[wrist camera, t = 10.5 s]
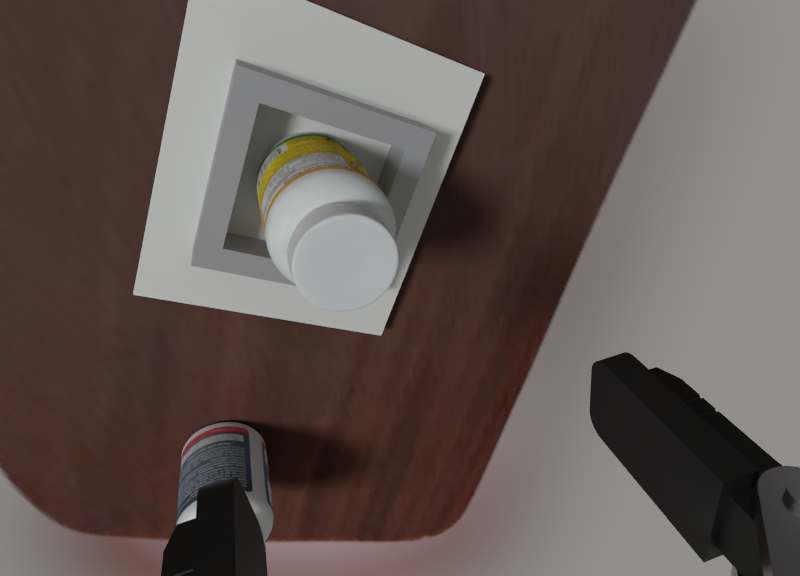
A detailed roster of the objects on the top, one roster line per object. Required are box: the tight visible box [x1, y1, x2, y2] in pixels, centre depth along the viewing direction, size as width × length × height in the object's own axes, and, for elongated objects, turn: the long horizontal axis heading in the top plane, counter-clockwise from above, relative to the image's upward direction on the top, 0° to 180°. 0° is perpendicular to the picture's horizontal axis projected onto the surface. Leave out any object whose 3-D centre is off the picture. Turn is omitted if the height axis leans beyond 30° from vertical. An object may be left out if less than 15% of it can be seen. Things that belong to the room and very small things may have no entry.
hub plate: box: [133, 0, 485, 336], centre depth 27 cm, size 16×14×3 cm
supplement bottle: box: [256, 132, 399, 312], centre depth 24 cm, size 5×5×10 cm
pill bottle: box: [176, 422, 273, 552], centre depth 32 cm, size 5×5×9 cm
